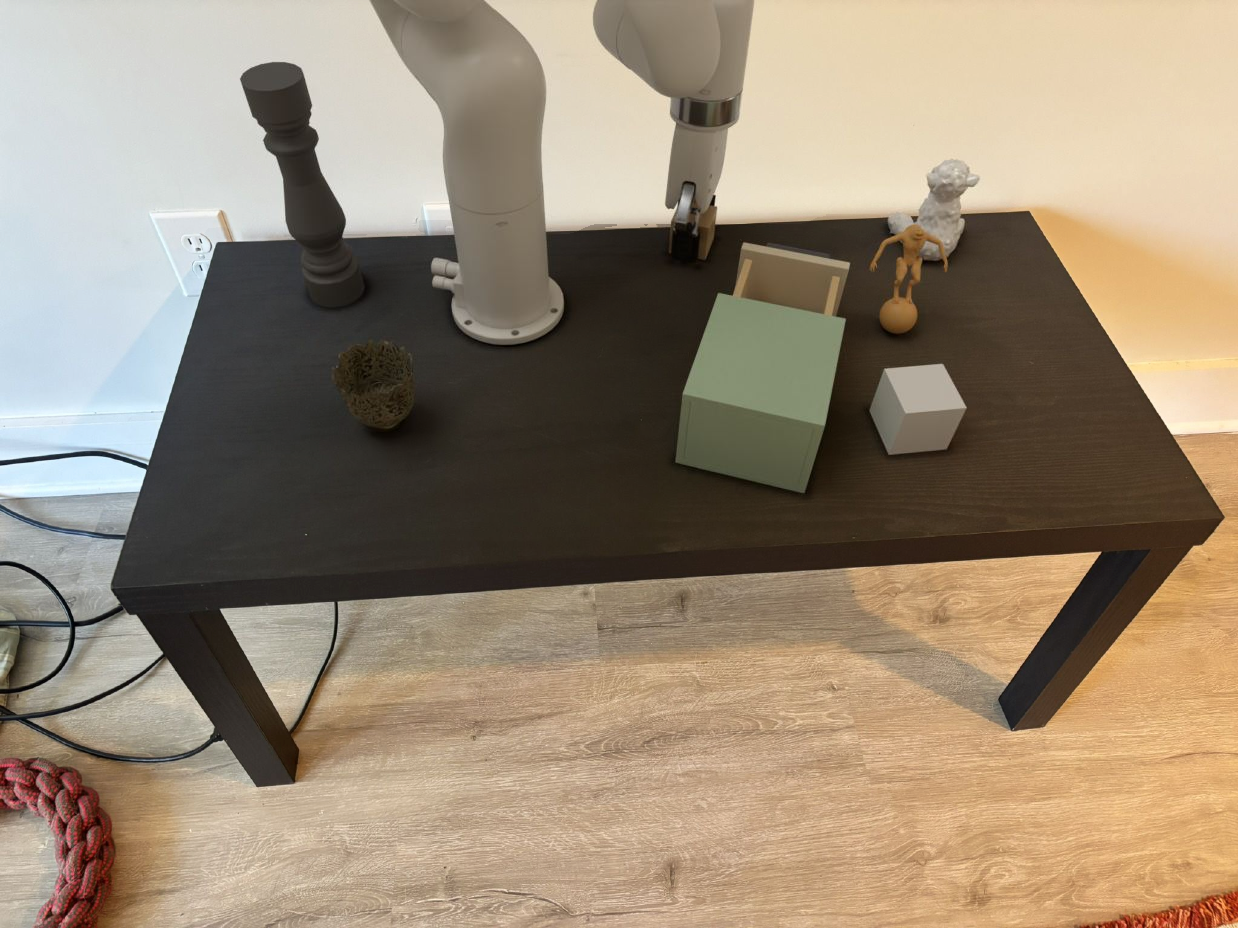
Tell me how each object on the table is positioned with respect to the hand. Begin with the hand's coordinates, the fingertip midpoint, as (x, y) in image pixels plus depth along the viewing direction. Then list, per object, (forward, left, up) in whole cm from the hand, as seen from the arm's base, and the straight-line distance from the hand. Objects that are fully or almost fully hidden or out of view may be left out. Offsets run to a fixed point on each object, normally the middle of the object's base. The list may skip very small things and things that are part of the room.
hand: (692, 239), depth 103 cm
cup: (-22, -38, -1) cm, 44 cm away
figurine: (+25, -7, -1) cm, 26 cm away
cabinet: (+13, -27, -1) cm, 30 cm away
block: (0, 0, -1) cm, 1 cm away
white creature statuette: (+28, +9, -1) cm, 29 cm away
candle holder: (-37, -21, -1) cm, 43 cm away
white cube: (+28, -23, -1) cm, 36 cm away
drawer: (+13, -14, 0) cm, 19 cm away
